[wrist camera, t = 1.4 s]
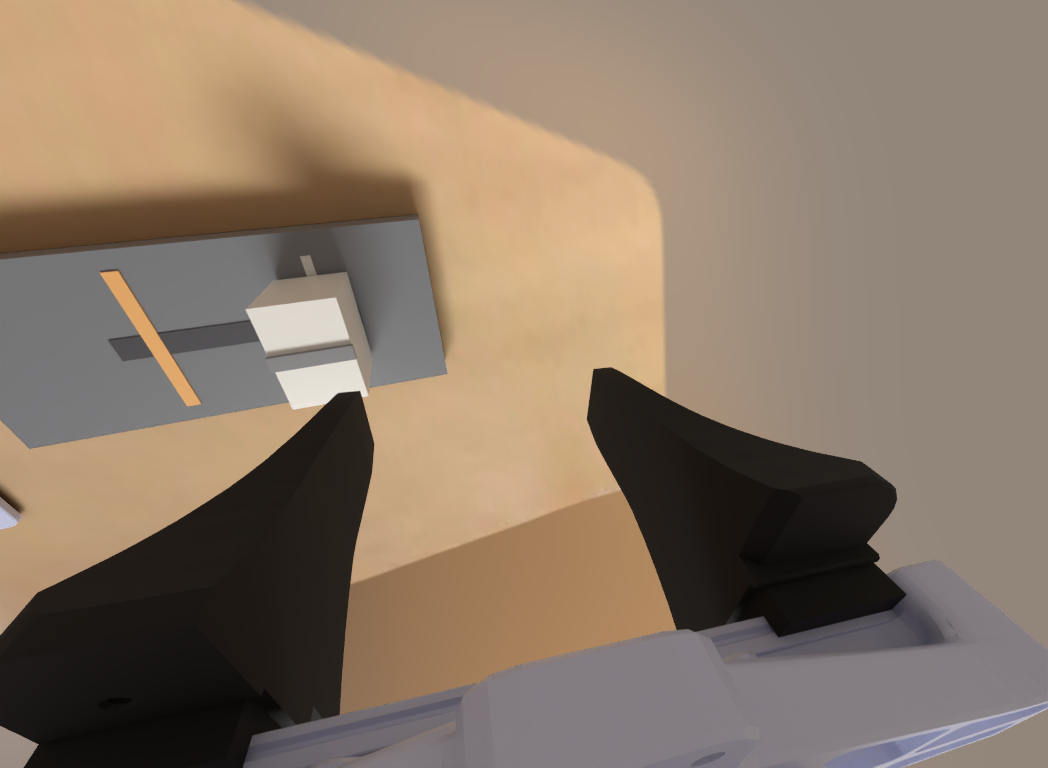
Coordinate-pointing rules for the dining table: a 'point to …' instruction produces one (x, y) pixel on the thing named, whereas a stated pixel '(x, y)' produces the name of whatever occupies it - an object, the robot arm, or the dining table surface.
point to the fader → (313, 338)
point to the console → (191, 323)
